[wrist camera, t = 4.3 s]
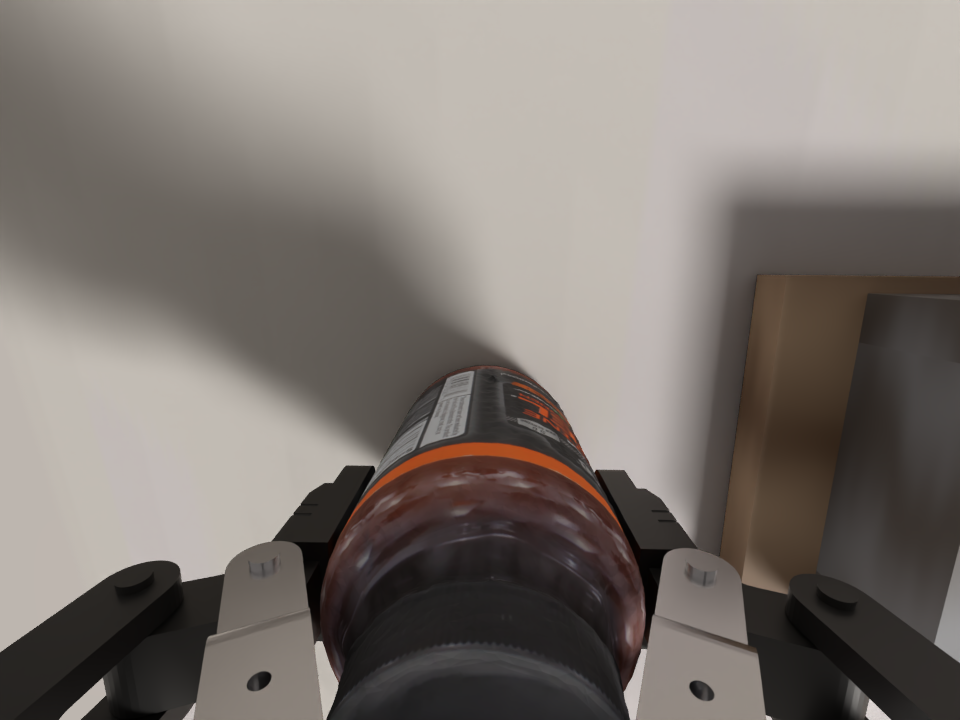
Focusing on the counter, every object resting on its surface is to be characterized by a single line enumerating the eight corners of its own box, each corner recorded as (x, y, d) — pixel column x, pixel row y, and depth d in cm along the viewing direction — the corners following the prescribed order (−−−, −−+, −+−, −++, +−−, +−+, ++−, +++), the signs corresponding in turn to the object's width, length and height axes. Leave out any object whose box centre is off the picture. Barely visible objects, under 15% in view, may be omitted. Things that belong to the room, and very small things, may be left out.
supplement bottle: (601, 445, 16) (842, 824, 5) (481, 543, 17) (470, 1044, 6) (490, 324, 15) (498, 475, 4) (370, 434, 16) (125, 789, 5)
